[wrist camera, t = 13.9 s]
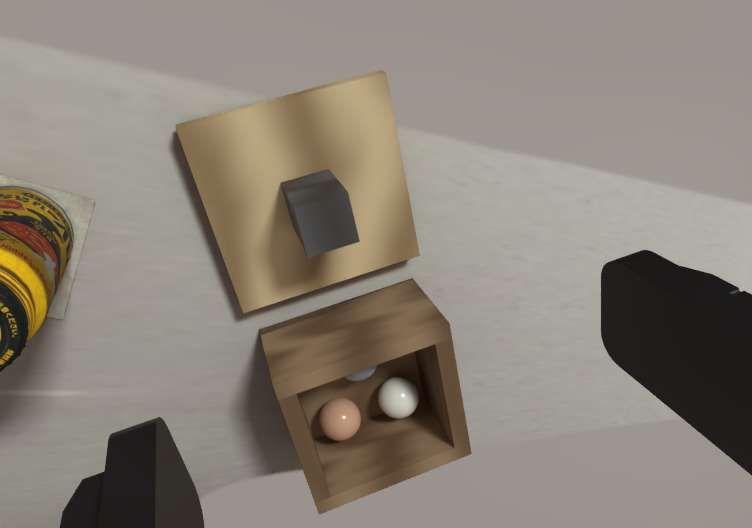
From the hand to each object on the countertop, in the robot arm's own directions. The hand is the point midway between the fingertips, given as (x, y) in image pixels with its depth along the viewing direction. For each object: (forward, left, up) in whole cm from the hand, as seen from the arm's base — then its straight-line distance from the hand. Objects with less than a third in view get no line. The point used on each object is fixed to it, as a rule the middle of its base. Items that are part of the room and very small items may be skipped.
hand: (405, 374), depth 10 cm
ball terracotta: (0, -24, -29) cm, 38 cm away
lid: (+2, -7, -29) cm, 30 cm away
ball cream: (+5, -24, -29) cm, 38 cm away
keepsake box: (+2, -22, -30) cm, 37 cm away
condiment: (-16, -5, -30) cm, 34 cm away
